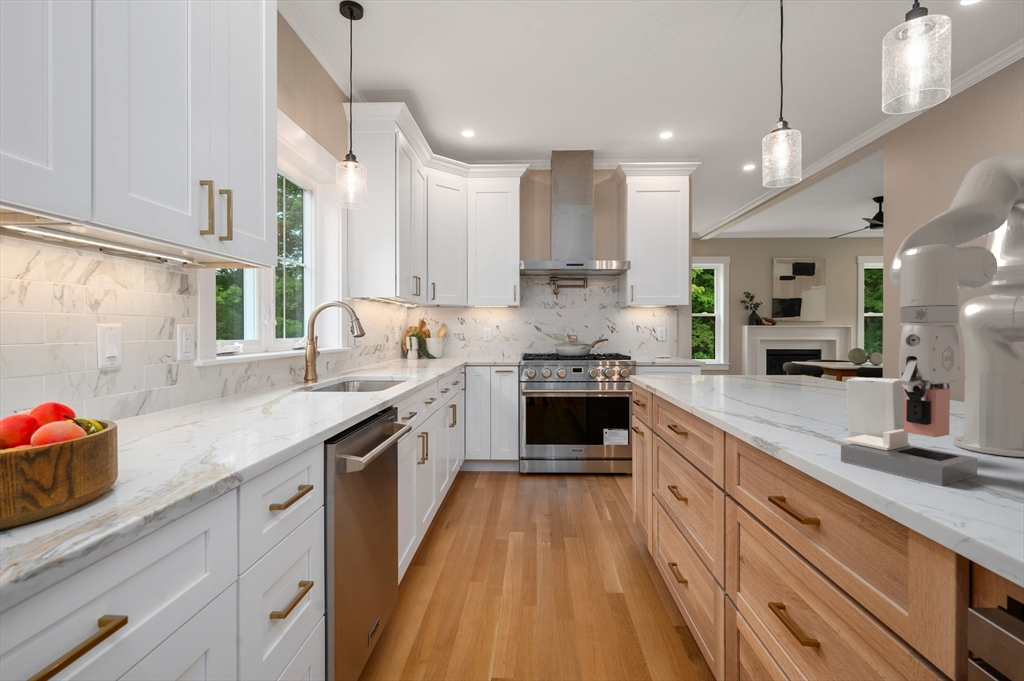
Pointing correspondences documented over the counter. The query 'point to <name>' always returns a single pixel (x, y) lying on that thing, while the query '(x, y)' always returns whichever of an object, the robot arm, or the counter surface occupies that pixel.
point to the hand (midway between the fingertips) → (926, 420)
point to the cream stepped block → (882, 440)
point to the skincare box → (874, 406)
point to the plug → (932, 414)
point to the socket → (913, 462)
